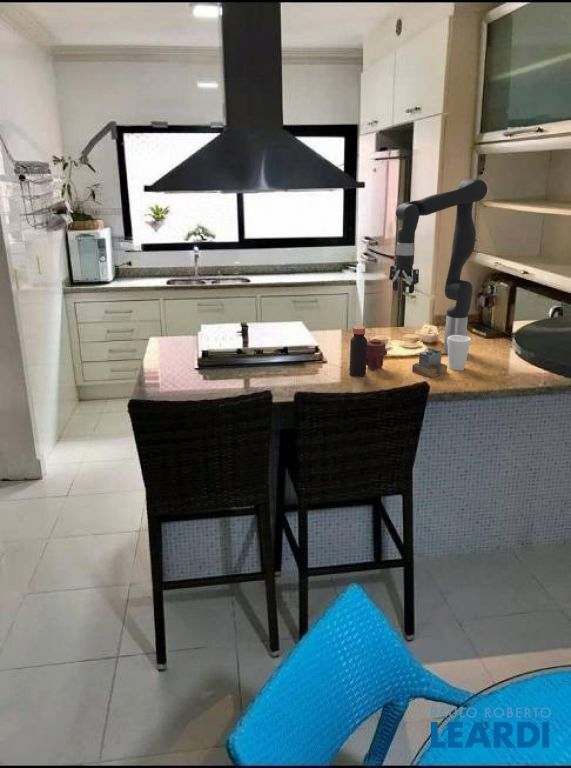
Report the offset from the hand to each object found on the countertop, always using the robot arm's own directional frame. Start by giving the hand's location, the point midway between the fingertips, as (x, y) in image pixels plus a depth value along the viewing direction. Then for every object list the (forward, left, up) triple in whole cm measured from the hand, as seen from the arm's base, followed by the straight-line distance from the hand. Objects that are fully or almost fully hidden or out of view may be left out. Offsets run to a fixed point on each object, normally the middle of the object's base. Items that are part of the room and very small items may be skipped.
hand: (402, 291), depth 256 cm
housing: (+4, +20, -27) cm, 34 cm away
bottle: (+29, +3, -30) cm, 42 cm away
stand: (+4, +20, -30) cm, 36 cm away
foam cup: (-9, +24, -30) cm, 40 cm away
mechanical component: (+18, +2, -30) cm, 35 cm away
